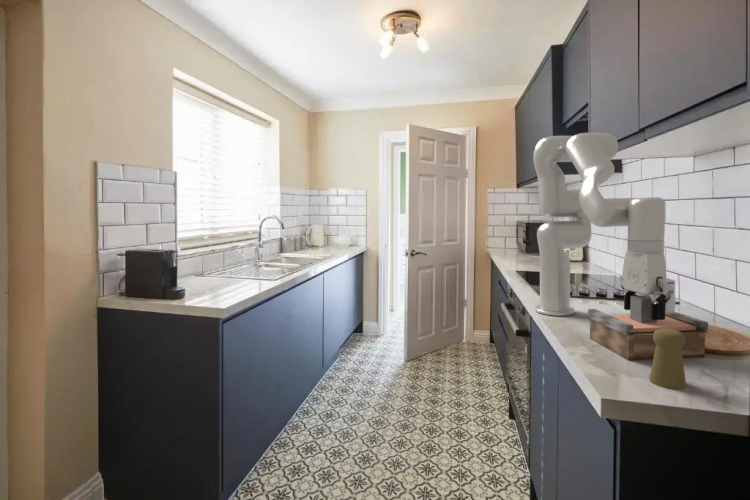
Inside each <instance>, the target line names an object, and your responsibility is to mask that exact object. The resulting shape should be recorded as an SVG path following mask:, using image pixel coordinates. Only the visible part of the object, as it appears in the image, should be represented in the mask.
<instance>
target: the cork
mask: <svg viewBox="0 0 750 500" xmlns="http://www.w3.org/2000/svg"><path fill="white" fill-rule="evenodd" d="M653 340H654V342H655V344H656V349H655V354H654V359H652V365H651V370H650V375H649V381H650V383H652V384H654V385H656V386H658V387H661V388H665V389H671V390H682V389H683V390H684V389H685V388H687V381H686V374H685V367H684V358H683V357H682V349H681V348H682V347H683V346H684V344H685V336H684V335H683V333H681V332H679V331H677V330H672V329H658V330H656V331H655V332H654V335H653Z"/></svg>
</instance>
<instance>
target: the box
mask: <svg viewBox="0 0 750 500" xmlns="http://www.w3.org/2000/svg"><path fill="white" fill-rule="evenodd" d="M610 315H611V314H607V313H605V312H603V311H601V310H598V309H595V308H588V309H587V317H588V319H589V340H592V341H593V342H595V343H597V344H599V346H600V345H601V347H603V348H604V347H605V349H607V350H609V351H611V352H612V353H615V354H616V355H618V356H619V357H622V358H623V359H625V360H627V361H647V360H649V361H650V360H653V359H654V354H655V349H656V344H655V342H654V340H653V335H654V332H635V333H629V330H633V325H631V324H629V323H627V322H624V321H622V320H620V319H617V318H615V317H612V316H610ZM665 315H666V316H669V317H672V318H675V319H678V320H680V321H683V322H686V323H689V324H692V325H695V326H697V327H696V330H686V331H679V332H681V333H683V335H684V336H685V344H684V346H683V347H682V348H681V349H682V357H683V359H694V358H695V359H696V358H697V359H698V358H699V359H700V358H705V351H706V350H705V347H706V346H705V345H706V333H708V332H709V322H708V321H706V320H701V319H698V318H696V317H693V316H689V315H686V314H683V313H680V312H676V311H675V312H674V311H671V310H668V309H665Z"/></svg>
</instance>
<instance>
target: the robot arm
mask: <svg viewBox="0 0 750 500" xmlns="http://www.w3.org/2000/svg"><path fill="white" fill-rule="evenodd" d="M618 149H619V142H618V140H617V137H615V136H614V135H613V134H612V133H610V132H609V133H608V132H582V133H577V134H575V135H552V136H546V137H543V138H541V139H540V140H539V141H538V142H537V144H535V148H534V150H533V156H532V159H533V165H534V170H535V173H536V176H537V182H538V183H537V184H538V187H537V188H538V200H539V210H540V214H541V215H542V216H543V217H545V218H568V220H557V221H556V220H555V221H549V222H544V223H543V224H541V225H540V226H539V227H538V228H537V230H536V231H537V232H536V238H537V245H538V250H539V252H538V253H539V297H538V299H539V304H538V305H535V307H534V311H535V312H537V313H540V314H542V315H548V316H556V317H557V316H559V317H560V316H561V317H563V316H565V317H566V316H572V315H574V314H575V313H576V312H575V308H573V307H571V305H570V304H571V291H570V290H571V262H570V258H569V256H568V254H567V253H566V252H565V250H566V249H580V248H584V247H586V246H587V245H588V244H589V243H590V242H591V238H592V225H594V226H596V227H599V228H608V227H609V228H612V227H613V228H615V227H627V249H626V251H625V255H624V260H623V265H622V267H623V268H622V275H621V276H619V280H620V283H621V288H622V290H623V291H622V294H623V299H624V300H623V309H624V310H625V311H630V305H631V296H638V294H640V295H647V294H649V295H650V297H651V299H652V301H653V303H651V311H650V319H652V320H664V319H665V306H666V304H667V303H668V300H669V299H670V298H671V294H672V292H673V288H672V287H671V286H670V285H669V284H668V283H667V282H666V278H667V265H666V257H665V232H666V231H665V230H666V228H665V227H666V225H665V224H666V223H665V222H666V201H665V199H664V198H662V197H638V198H637V197H624V198H623V197H618V198H617V197H616V198H604V196H603V195H602V194H601V192H600V190H599V188H598V186H601V185H602V184H604V183H606V182H607V181H608V180H609V179H610V178H611V177H612V176H613V175H614V173H615V166H614V164H613V162H612V161H611V160H612V159H613V158H615V156H616V155H617V154H618V151H619V150H618ZM557 163H572V165H573V166H574V168H575V170H576V171H577V173H578V175H579V176H580V178H581V179H582V183H581V184H580V187H579V189H574V188H573V189H567V186H566V176H565V174H564V172H563V170H562V169H561V168H560V166H559V165H558V164H557ZM636 293H637V294H636ZM656 295H659V297H658V298H657V297H656Z"/></svg>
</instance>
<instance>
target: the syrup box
mask: <svg viewBox="0 0 750 500" xmlns="http://www.w3.org/2000/svg"><path fill="white" fill-rule="evenodd" d="M666 282H667V283H668V284H669V285H670V286H671V287H672V288H673V292H672V294H671V298H670V299H669V300H668V303H667V304H666V306H665V309H668V310H671V311H674V312H676V280H675V279H673V278H669V277H666ZM646 296H650V295H649V294H647V295H646ZM656 297H657V298H658V297H659V295H656Z"/></svg>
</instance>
